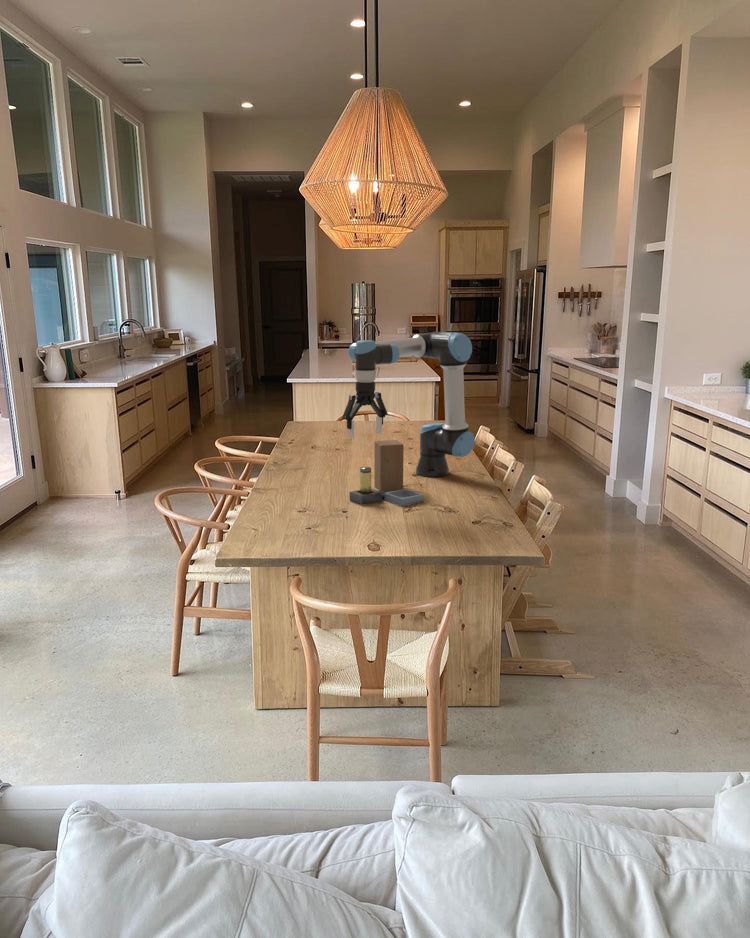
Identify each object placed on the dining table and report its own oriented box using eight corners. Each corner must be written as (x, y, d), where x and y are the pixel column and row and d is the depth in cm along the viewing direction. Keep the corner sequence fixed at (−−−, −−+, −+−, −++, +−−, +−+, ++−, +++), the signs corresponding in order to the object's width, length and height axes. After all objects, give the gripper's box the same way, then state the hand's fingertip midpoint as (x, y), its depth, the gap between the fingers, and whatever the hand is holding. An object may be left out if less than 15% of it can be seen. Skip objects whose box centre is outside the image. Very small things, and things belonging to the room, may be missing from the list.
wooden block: (380, 492, 306) (380, 445, 301) (374, 486, 315) (374, 440, 311) (403, 490, 309) (404, 444, 304) (396, 484, 318) (396, 439, 313)
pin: (366, 498, 297) (366, 466, 294) (373, 501, 293) (373, 468, 290) (357, 500, 294) (357, 467, 291) (364, 502, 291) (364, 469, 288)
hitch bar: (384, 493, 305) (384, 484, 304) (397, 497, 298) (397, 489, 298) (349, 500, 294) (349, 491, 293) (361, 505, 288) (361, 496, 287)
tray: (405, 495, 301) (405, 488, 300) (423, 501, 293) (423, 494, 292) (384, 500, 295) (384, 493, 294) (402, 506, 286) (402, 499, 285)
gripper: (384, 378, 293) (384, 430, 298) (333, 382, 278) (333, 437, 283) (396, 379, 287) (396, 433, 292) (344, 384, 272) (344, 440, 277)
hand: (365, 435), depth 288 cm, fingers open, 13 cm apart
